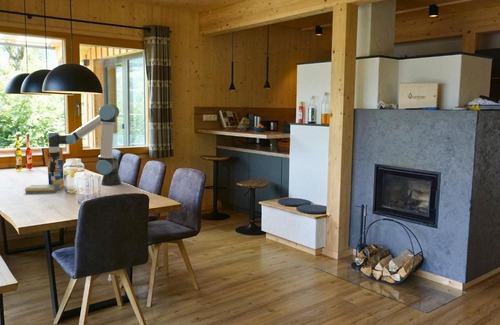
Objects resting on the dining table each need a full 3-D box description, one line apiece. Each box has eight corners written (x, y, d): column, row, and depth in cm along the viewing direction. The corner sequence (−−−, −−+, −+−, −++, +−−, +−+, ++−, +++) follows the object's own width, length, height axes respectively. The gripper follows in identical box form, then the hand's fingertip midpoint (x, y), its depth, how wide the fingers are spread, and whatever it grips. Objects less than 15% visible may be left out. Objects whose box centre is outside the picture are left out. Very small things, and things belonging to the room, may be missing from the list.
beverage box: (64, 187, 349) (62, 159, 346) (48, 188, 345) (47, 160, 342) (64, 186, 355) (62, 158, 352) (49, 187, 351) (47, 159, 348)
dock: (59, 189, 341) (59, 184, 341) (53, 193, 328) (53, 187, 327) (32, 190, 339) (31, 184, 338) (25, 193, 326) (24, 188, 325)
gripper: (54, 150, 358) (56, 176, 361) (43, 153, 333) (45, 181, 336) (64, 150, 359) (65, 176, 362) (54, 153, 334) (56, 181, 337)
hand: (56, 178), depth 349 cm, fingers open, 13 cm apart
